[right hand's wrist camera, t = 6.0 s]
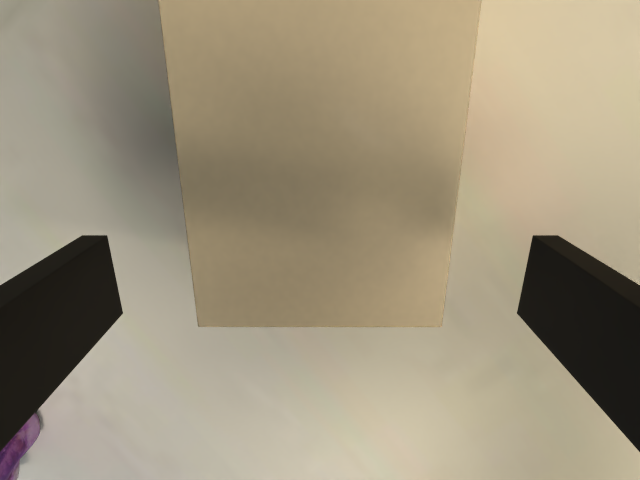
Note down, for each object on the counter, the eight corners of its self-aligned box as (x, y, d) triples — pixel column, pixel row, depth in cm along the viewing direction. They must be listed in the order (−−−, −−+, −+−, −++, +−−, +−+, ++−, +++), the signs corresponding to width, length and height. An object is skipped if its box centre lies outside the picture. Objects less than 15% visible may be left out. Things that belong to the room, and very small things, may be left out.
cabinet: (205, -168, 19) (110, -388, 10) (434, -168, 19) (529, -389, 10) (237, 252, 26) (197, 327, 17) (402, 252, 26) (442, 327, 17)
